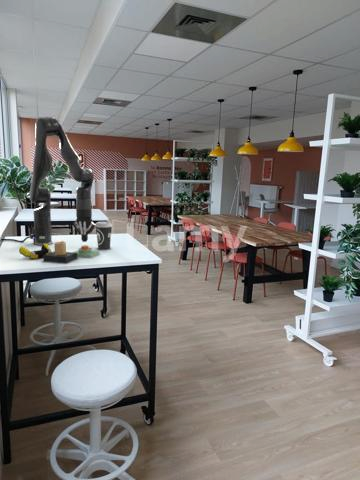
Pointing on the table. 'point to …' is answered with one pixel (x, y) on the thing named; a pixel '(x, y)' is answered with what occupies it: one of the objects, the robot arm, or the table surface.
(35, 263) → the table surface
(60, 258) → the panel
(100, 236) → the coffee cup
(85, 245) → the button
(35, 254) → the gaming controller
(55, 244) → the knob
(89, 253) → the button box
